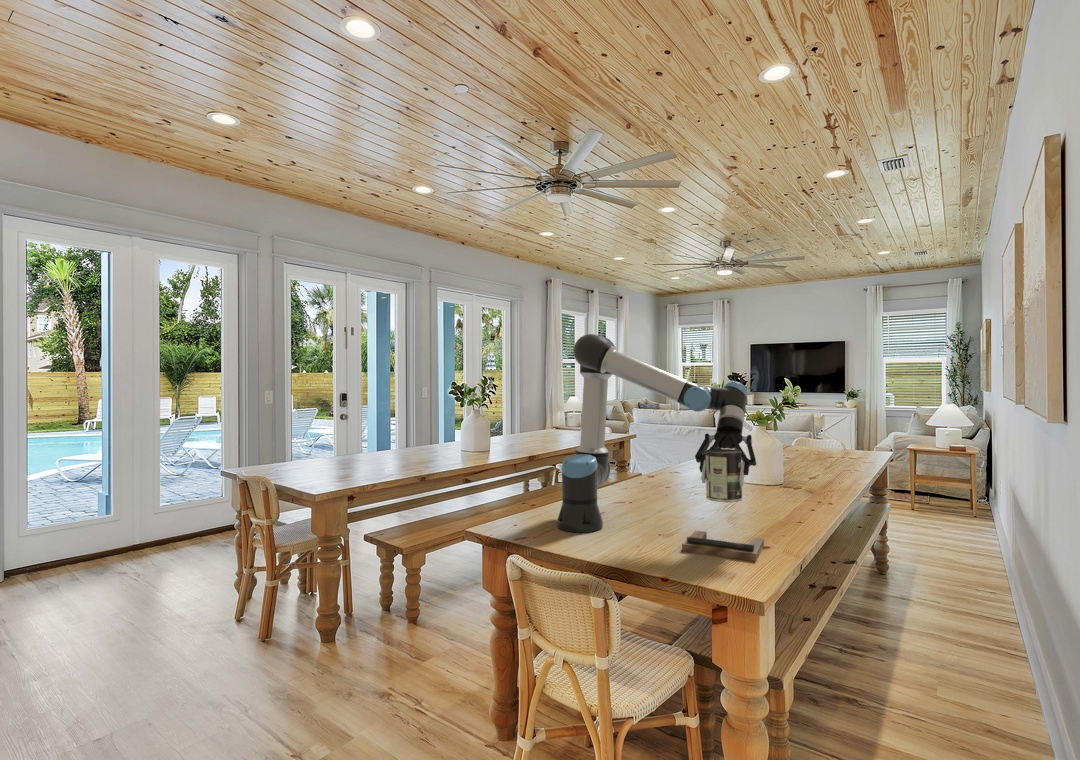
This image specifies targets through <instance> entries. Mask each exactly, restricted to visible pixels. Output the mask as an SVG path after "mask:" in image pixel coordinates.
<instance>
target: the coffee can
mask: <svg viewBox="0 0 1080 760" xmlns="http://www.w3.org/2000/svg"><path fill="white" fill-rule="evenodd" d="M705 454H706V481H705V490H706V495H705V498H706V499H707V500H709V501H712V502H717V503H738V502H742V500H743V486H740V481H739V479H740V471H741V462H742V460H741V454H742V452H741V451H739V450H735V449H729V448H721V449H711V450H709V449H707V450H706V451H705Z"/></svg>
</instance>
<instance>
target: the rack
mask: <svg viewBox="0 0 1080 760" xmlns="http://www.w3.org/2000/svg"><path fill="white" fill-rule="evenodd" d="M707 537H708V535H707V531H704V530H703V531H701V530H694V531H693V532H692V533H691V534H690V535H689V536H687V537H686V540H685V541H683V542H682V543H681V551H682V552H685V551H688V552H687V553H693V552H694V553H693V554H700V553H701V555H709V556H715V557H723V558H731V559H737V560H745V561H752V562H757V561H758V558H759V556H760V554H761V553H762V550H763V548H764V546H765V539H764V538H762V537H761V538H760V537H752V536H750V539H749V540H748V542H747V543H742V542H741V543H740V542H733V541H726V540H718V539H710V538H709V539H708V538H707Z"/></svg>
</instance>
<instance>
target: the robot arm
mask: <svg viewBox="0 0 1080 760" xmlns="http://www.w3.org/2000/svg"><path fill="white" fill-rule="evenodd" d="M573 357H574V359H575V361H576V362H577V363H578V364H579V374H580V375H581V377H583V384H582V385H583V388H582V404H581V405H582V408H581V426H580V427H581V428H580V442H579V443H580V444H579V446H577V447H576V448H575V454H573V455H568V456H566V457H564V458H563V459H562V463H561V483H562V484H561V485H562V487H561V490H562V491H561V493H562V494H561V495H562V501H561V506H560V511H559V513H558V517H557V523H556V524H557V526H556V527H557V528H558V529H559V530H560V531H564V532H570V533H592V532H596V531H597V532H598V531H600V530H601V529H603V528H604V527H603V524H604V523H603V518H602V515H601V512H600V508H599V504H598V487H600V486H602V485H603V484H604V483H605V482H607V480H608V479H609V477H610V474H611V463H610V461H609V449H607V447H606V446H605V442H606V441H605V440H606V422H607V405H608V404H607V403H608V386H609V385H608V384H609V378H611V376H616V377H618V378H620V379H622V380H625V381H627V382H630V383H631V384H634V385H637V386H638V387H641V388H644V389H646V390H648V391H651V392H652V393H655V394H657V395H660V396H662V397H664V398H667V399H669V400H671V401H673V402H675V403H678V404H680V405H683V407H687V409H689V410H690V411H693V412H702V411H705V410H711V411H712V410H714V411H719V414H718V422H717V426H716V431H715V433H714V435H713V434H711V435H710V434H709V433H708V432H707V433H705V434H704V440H703V441H702V443H701V445H700V447H699V449H697V452H696V453H695V456H694V457H695V458H694V459H695V461H696V463H699V467H698V468H699V472H700V473H701V476H700V480H701V482H702V484H706V454H705V451H706V450H711V449H732V450H739V451H741V452H742V454H741V471H740V479H739V481H740V486H742V487H744V482H745V476H748V475H749V471H750V467H751V466H753V467H756V466H757V459H756V457H755V456H756V455H755V452H754V449H753V445H752V444H753V438H752V435H751V434H747V436H744V435H743V428H744V422H745V411H746V408H747V407H746V405H747V396H748V395H747V394H748V390H747V387H746V386H745V385H744V384H742V383H741V382H738V381H730V382H727V383H725V384H724V386H723V387H715V386H707V385H699V384H697V383H695V382H691V381H689V380H687V379H684V378H682V377H679V376H678V375H675V374H672V373H669V372H667V371H665V370H662V369H660V368H658V367H656V366H654V365H650V364H648V363H646V362H643V361H641V360H639V359H636V358H635V357H632V356H629V355H628V354H625V353H623V352H621V351H618V350H617V347H616V346H615V344H614V342H613V341H612V340H610V339H609V338H608V337H606V336H602V335H597V334H594V333H588V334H584V335H582V336H581V337H580V338H578V339H577V340H576V342H575V344H574V346H573ZM713 441H714V443H713V444H712V442H713ZM742 442H744V444H745V445H746V447H747V452H748V455H749V458H748V457H747V455H746V453H745V451H744V450H743V449H742V447H741V445H740V444H741V443H742ZM710 444H712V445H711V446H710ZM709 447H710V448H709Z"/></svg>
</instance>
